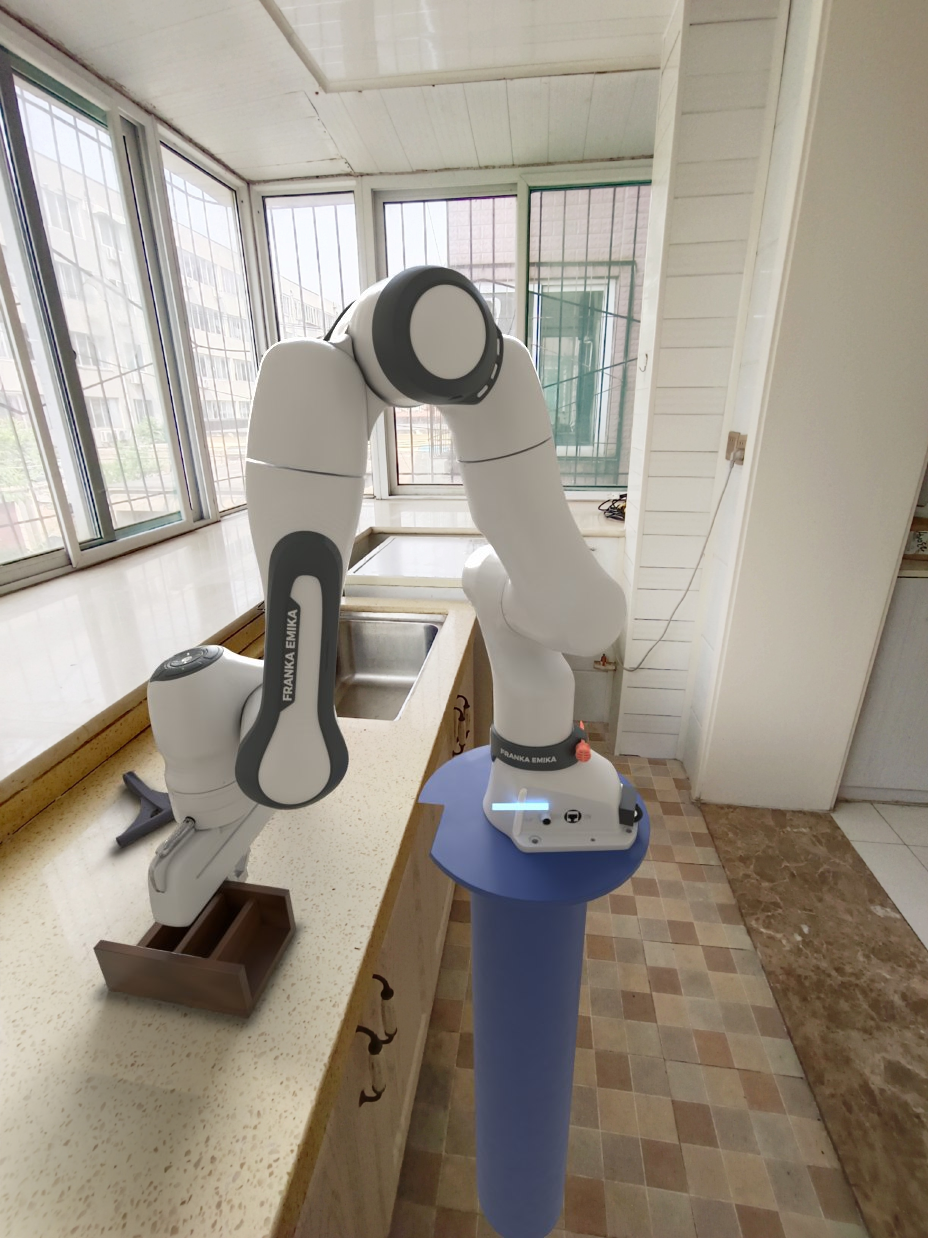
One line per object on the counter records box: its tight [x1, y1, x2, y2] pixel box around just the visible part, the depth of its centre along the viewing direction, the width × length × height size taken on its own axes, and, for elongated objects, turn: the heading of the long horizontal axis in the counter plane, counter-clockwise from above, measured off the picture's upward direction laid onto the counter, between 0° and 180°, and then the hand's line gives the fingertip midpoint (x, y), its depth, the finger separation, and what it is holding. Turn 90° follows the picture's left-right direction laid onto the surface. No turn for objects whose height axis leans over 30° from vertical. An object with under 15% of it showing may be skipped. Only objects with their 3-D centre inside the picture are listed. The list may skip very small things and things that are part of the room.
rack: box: [92, 880, 297, 1019], centre depth 58 cm, size 16×10×6 cm, turn 79°
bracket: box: [115, 769, 175, 849], centre depth 83 cm, size 14×15×3 cm
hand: (236, 885), depth 64 cm, fingers closed
